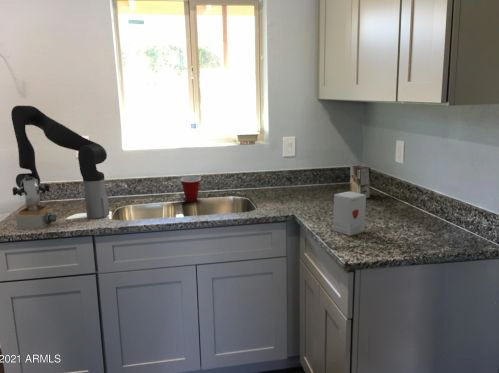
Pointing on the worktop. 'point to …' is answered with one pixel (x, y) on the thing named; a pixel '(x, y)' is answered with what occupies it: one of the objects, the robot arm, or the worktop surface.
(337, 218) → the supplement box
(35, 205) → the moka pot
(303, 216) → the worktop surface
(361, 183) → the coffee box
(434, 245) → the worktop surface
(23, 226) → the gearbox
